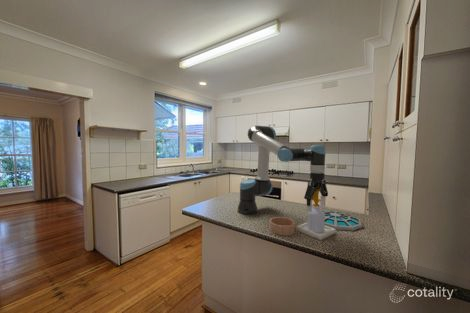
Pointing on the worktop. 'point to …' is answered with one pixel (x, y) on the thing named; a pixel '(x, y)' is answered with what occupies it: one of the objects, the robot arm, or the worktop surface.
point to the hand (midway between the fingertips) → (316, 209)
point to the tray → (320, 236)
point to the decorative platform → (341, 221)
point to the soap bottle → (316, 216)
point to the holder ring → (286, 223)
